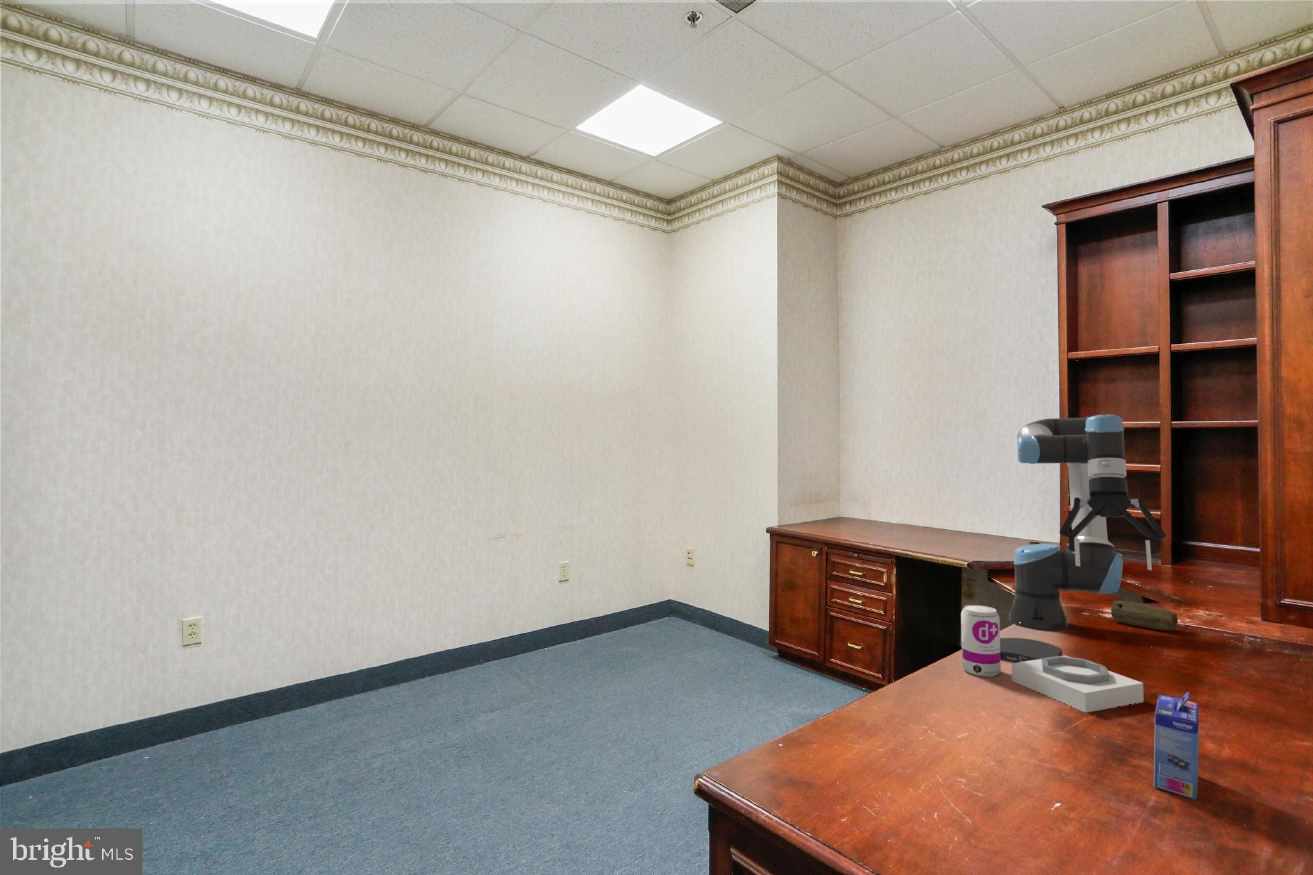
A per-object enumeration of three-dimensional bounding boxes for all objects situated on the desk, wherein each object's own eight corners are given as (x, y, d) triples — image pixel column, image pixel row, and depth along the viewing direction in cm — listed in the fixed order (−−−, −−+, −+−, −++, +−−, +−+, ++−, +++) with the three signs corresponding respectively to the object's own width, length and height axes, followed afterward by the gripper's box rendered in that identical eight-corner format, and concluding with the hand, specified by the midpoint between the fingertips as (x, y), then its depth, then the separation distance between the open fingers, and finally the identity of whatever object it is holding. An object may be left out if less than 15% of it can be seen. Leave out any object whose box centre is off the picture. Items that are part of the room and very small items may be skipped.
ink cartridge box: (1199, 802, 96) (1197, 706, 96) (1153, 789, 100) (1151, 697, 100) (1200, 775, 104) (1198, 687, 104) (1157, 764, 107) (1155, 679, 107)
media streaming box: (1065, 656, 161) (1065, 644, 161) (1052, 671, 151) (1052, 659, 151) (1002, 644, 171) (1002, 633, 171) (986, 658, 161) (986, 646, 161)
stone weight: (1109, 624, 187) (1109, 601, 187) (1115, 619, 192) (1115, 597, 192) (1174, 635, 176) (1173, 611, 176) (1179, 630, 180) (1178, 606, 180)
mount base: (1011, 680, 145) (1011, 656, 145) (1065, 672, 149) (1065, 649, 149) (1085, 712, 127) (1084, 685, 128) (1143, 702, 132) (1142, 675, 132)
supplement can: (1005, 678, 146) (1004, 614, 146) (967, 676, 148) (966, 612, 148) (994, 666, 154) (993, 604, 154) (958, 664, 156) (956, 603, 156)
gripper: (1045, 476, 157) (1048, 562, 152) (1174, 474, 141) (1182, 569, 137) (1048, 482, 162) (1052, 565, 157) (1173, 480, 147) (1181, 572, 142)
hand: (1112, 567), depth 147 cm, fingers open, 13 cm apart
